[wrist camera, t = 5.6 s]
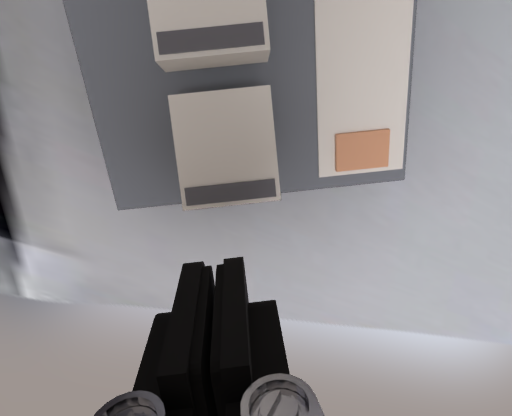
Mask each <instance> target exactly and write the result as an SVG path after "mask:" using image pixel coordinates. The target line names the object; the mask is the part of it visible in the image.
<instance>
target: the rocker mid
mask: <svg viewBox="0 0 512 416" xmlns="http://www.w3.org/2000/svg"><path fill="white" fill-rule="evenodd" d="M147 6H148V13H149V20H150V28H151V35H152V42H153V50H154V57H155V62H156V63H157V64H158V65H159V66H160V67H161V68H162V69H163V70H164V71H165V72H173V71H183V70H193V69H203V68H213V67H223V66H232V65H242V64H252V63H262V62H268V58H269V54H270V50H271V49H270V38H269V28H268V17H267V6H266V0H147Z"/></svg>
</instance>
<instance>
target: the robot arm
mask: <svg viewBox="0 0 512 416" xmlns="http://www.w3.org/2000/svg"><path fill="white" fill-rule="evenodd" d="M94 416H324V413H323V411H322V409H321V407H320V404H319V402H318V400H317V397H316V395H315V393H314V392H313V391H312V389H311V387H310V386H309V385H308V384H307V383H305V382H304V381H303V380H302V379H300V378H297V377H295V376H293V375H290V374H289V368H288V363H287V359H286V353H285V348H284V343H283V337H282V331H281V327H280V321H279V316H278V310H277V305H276V301H275V300H270V301H261V302H253V303H249V301H248V293H247V284H246V276H245V268H244V260H243V257H237V258H228V259H224V264H221V265H217V268H216V282H215V284H214V277H213V271H212V267H211V266H205V265H204V262H203V261H202V262H193V263H185V264H183V266H182V271H181V275H180V279H179V283H178V287H177V291H176V295H175V300H174V304H173V308H172V312H168V313H159V314H157V315H156V316H155V318H154V321H153V324H152V328H151V331H150V334H149V337H148V341H147V344H146V347H145V351H144V354H143V357H142V361H141V364H140V367H139V371H138V374H137V377H136V381H135V384H134V387H133V391H132V392H128V393H125V394H122V395H119V396H117V397H115V398H114V399H112V400H110V401H109V402H107V403H106V404H105V405H104V406H103V407H102V408H101V409H99V410H98V411H97V412H96V413H95V415H94Z"/></svg>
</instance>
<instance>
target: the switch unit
mask: <svg viewBox="0 0 512 416" xmlns="http://www.w3.org/2000/svg"><path fill="white" fill-rule="evenodd" d="M63 4H64V7H65V11H66V15H67V19H68V23H69V26H70V30H71V34H72V38H73V42H74V45H75V49H76V53H77V57H78V61H79V64H80V68H81V72H82V76H83V80H84V83H85V87H86V91H87V95H88V99H89V102H90V106H91V110H92V114H93V118H94V121H95V125H96V129H97V133H98V137H99V140H100V144H101V148H102V152H103V156H104V159H105V163H106V167H107V171H108V175H109V178H110V182H111V186H112V190H113V194H114V197H115V201H116V205H117V209H118V210H125V209H135V208H144V207H154V206H163V205H172V204H182V200H181V192H180V184H179V177H178V169H177V162H176V154H175V147H174V139H173V132H172V124H171V117H170V109H169V102H168V95H175V94H185V93H195V92H205V91H214V90H224V89H234V88H244V87H254V86H263V85H270V87H271V98H272V108H273V119H274V130H275V140H276V151H277V161H278V172H279V182H280V193H286V192H295V191H304V190H314V189H323V188H333V187H342V186H352V185H361V184H370V183H380V182H389V181H399V180H404V179H405V165H406V151H407V137H408V123H409V108H410V94H411V80H412V66H413V52H414V38H415V23H416V9H417V0H266V6H267V17H268V28H269V38H270V49H271V50H270V54H269V58H268V62H262V63H252V64H242V65H232V66H223V67H213V68H203V69H193V70H183V71H173V72H165V71H164V70H163V69H162V68H161V67H160V66H159V65H158V64H157V63H156V62H155V57H154V50H153V42H152V35H151V28H150V20H149V13H148V6H147V0H63Z"/></svg>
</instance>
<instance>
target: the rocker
mask: <svg viewBox="0 0 512 416" xmlns="http://www.w3.org/2000/svg"><path fill="white" fill-rule="evenodd" d="M168 102H169V109H170V117H171V124H172V132H173V139H174V147H175V154H176V162H177V169H178V177H179V184H180V192H181V200H182V207H183V211H185V210H195V209H204V208H213V207H223V206H232V205H242V204H251V203H260V202H270V201H279V200H281V193H280V182H279V172H278V161H277V151H276V140H275V130H274V119H273V108H272V98H271V87H270V85H263V86H254V87H244V88H234V89H224V90H214V91H205V92H195V93H185V94H175V95H168Z"/></svg>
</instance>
